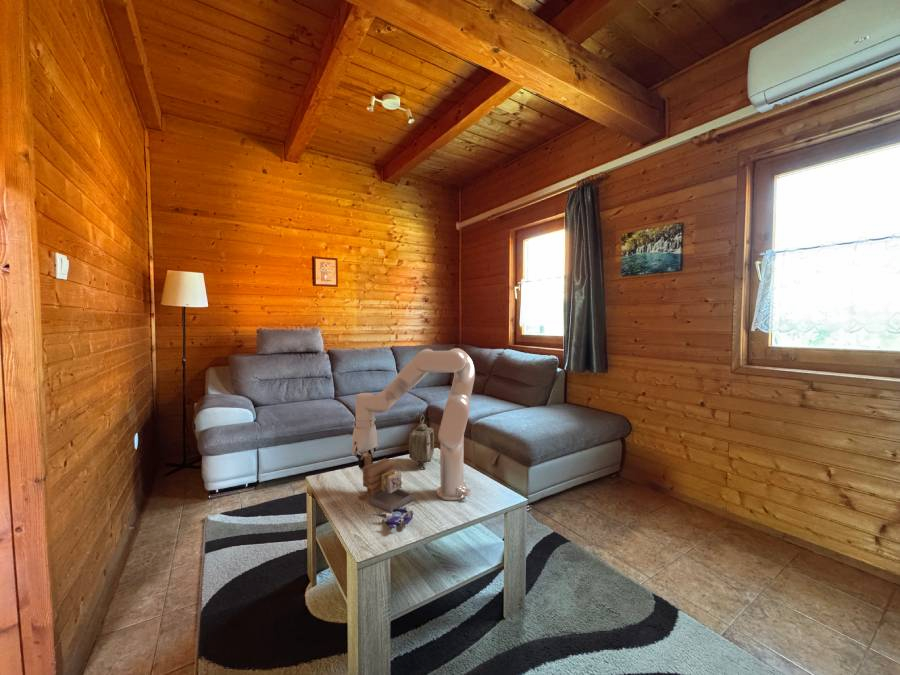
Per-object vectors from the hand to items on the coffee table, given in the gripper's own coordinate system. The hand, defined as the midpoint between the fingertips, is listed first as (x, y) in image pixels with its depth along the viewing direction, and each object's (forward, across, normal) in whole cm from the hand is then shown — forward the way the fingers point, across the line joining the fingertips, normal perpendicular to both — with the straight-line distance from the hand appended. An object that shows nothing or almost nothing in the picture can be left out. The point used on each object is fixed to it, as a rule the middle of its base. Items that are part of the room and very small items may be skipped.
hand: (365, 466), depth 152 cm
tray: (+11, 0, +15) cm, 19 cm away
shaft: (+3, 0, +9) cm, 10 cm away
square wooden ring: (+5, 0, +17) cm, 18 cm away
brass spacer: (+5, 0, +14) cm, 15 cm away
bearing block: (+11, 0, +6) cm, 12 cm away
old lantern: (+11, -35, 0) cm, 37 cm away
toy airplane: (+11, +10, +27) cm, 31 cm away
